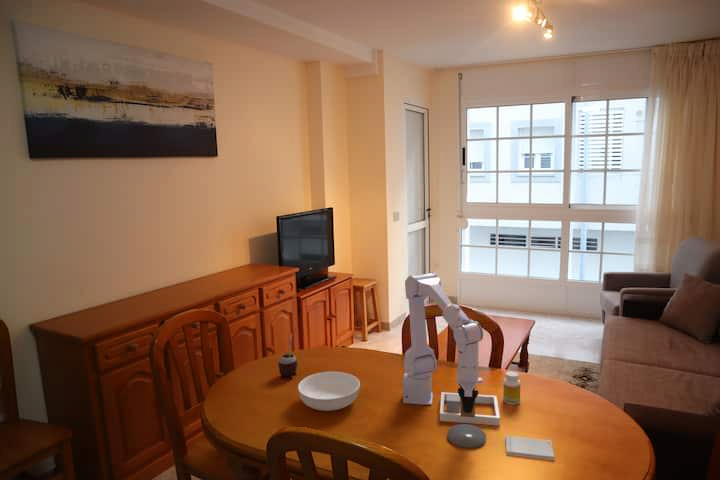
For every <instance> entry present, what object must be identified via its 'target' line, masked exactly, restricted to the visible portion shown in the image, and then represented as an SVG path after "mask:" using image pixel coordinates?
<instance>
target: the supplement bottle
mask: <svg viewBox="0 0 720 480" xmlns="http://www.w3.org/2000/svg"><path fill="white" fill-rule="evenodd" d="M502 385H503V389H502V390H503V392H502V395H503V396H502V400H503V402H504V403H506V404H508V405H512V406H513V405H515V406H516V405H518V404H520V403H521V402H520V401H521V381H520V379H519V373H518V372H517V371H511V370H510V371H509V370H508V371H507V372H506V373H505V378H504V379H503V384H502Z"/></svg>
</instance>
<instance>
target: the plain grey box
mask: <svg viewBox="0 0 720 480" xmlns="http://www.w3.org/2000/svg"><path fill="white" fill-rule="evenodd" d="M446 412H449V413H461V402H460V396H459V395H448V394H447V401H446Z"/></svg>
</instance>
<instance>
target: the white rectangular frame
mask: <svg viewBox="0 0 720 480" xmlns="http://www.w3.org/2000/svg"><path fill="white" fill-rule="evenodd" d="M447 394H448V395H459V394H458V392H444V391H441V395H440V405H439V406H440V407H439V408H440V409H439V422H450V423H452V422H453V423H461V424H472V425H473V424H475V425H476V424H477V425H479V424H480V425H487V426H488V425H489V426H501V416H500V410H499V402H498V397H497V396H498V395H489V394H478V396H477V397H476V399H475V404H484V405H485V404H486V405H493V410H494V415H488V414H486V415H485V414H476V413H475V417H462V416H461V412H460V413H449V412H447V411H444V410H445V402H447ZM460 403H461V398H460Z"/></svg>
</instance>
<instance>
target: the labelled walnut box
mask: <svg viewBox="0 0 720 480" xmlns="http://www.w3.org/2000/svg"><path fill="white" fill-rule="evenodd" d="M460 413H461V416H462V417H475V414H476V403H475V401H474V405H473V409H472V413H464V410H463V405H462V400H461V402H460Z"/></svg>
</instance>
